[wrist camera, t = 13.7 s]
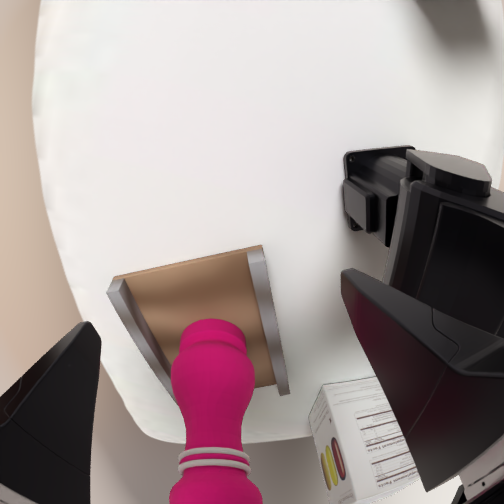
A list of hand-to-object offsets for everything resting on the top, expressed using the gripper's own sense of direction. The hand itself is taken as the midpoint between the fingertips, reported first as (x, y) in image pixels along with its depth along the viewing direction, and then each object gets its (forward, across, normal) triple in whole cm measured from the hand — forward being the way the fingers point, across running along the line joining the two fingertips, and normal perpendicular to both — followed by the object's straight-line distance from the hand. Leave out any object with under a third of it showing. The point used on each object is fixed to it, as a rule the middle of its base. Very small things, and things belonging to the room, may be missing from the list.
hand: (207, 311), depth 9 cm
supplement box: (+13, -10, +32) cm, 36 cm away
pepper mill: (+13, +4, +14) cm, 19 cm away
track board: (+13, +4, +14) cm, 20 cm away
